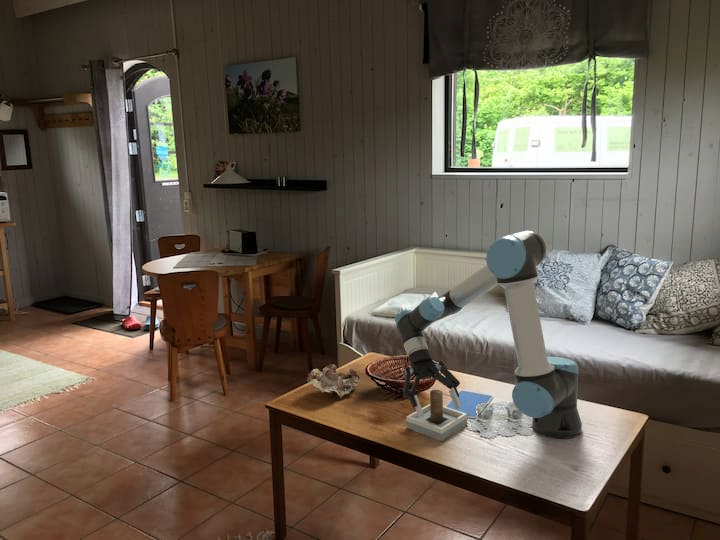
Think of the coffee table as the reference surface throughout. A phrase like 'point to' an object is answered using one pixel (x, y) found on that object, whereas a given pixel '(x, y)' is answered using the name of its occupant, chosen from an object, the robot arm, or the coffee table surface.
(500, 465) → the coffee table surface
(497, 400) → the coffee table surface
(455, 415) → the tray
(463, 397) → the blue rectangular panel
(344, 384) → the mineral formation
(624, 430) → the coffee table surface
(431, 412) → the peg
